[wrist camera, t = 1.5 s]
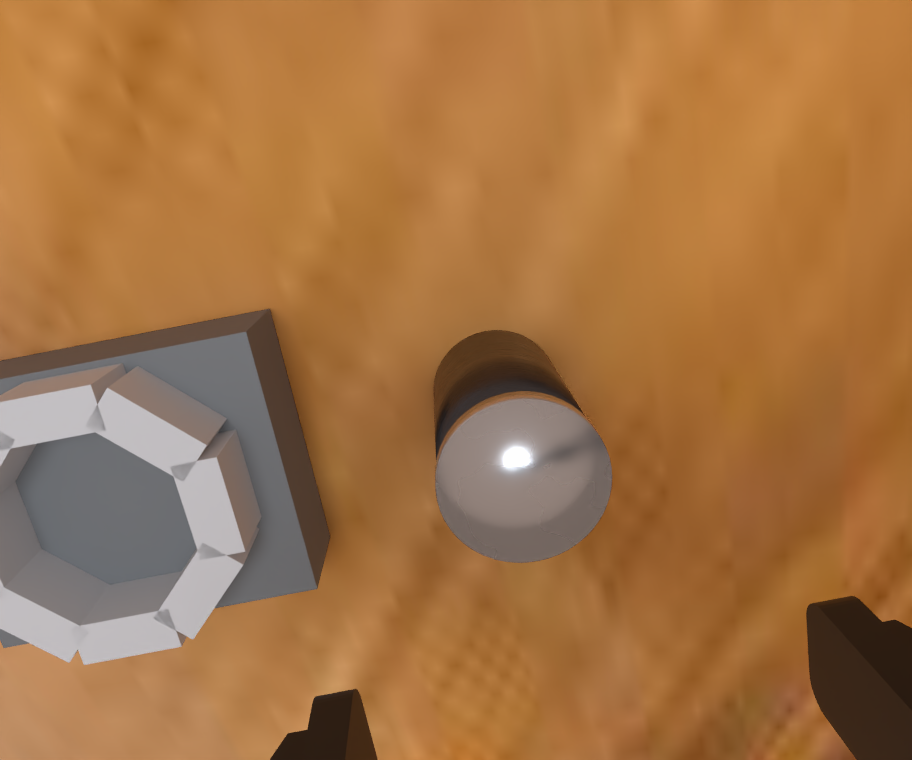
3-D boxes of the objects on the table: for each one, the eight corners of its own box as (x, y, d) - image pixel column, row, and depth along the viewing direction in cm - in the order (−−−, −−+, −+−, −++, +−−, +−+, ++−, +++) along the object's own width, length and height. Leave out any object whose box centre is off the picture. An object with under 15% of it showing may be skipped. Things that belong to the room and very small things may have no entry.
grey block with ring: (269, 308, 29) (227, 350, 22) (330, 536, 31) (307, 629, 25) (-33, 367, 29) (-160, 424, 22) (54, 588, 32) (-37, 694, 25)
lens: (548, 317, 29) (599, 384, 21) (566, 436, 31) (622, 545, 22) (421, 342, 29) (419, 418, 21) (445, 459, 31) (453, 576, 22)
